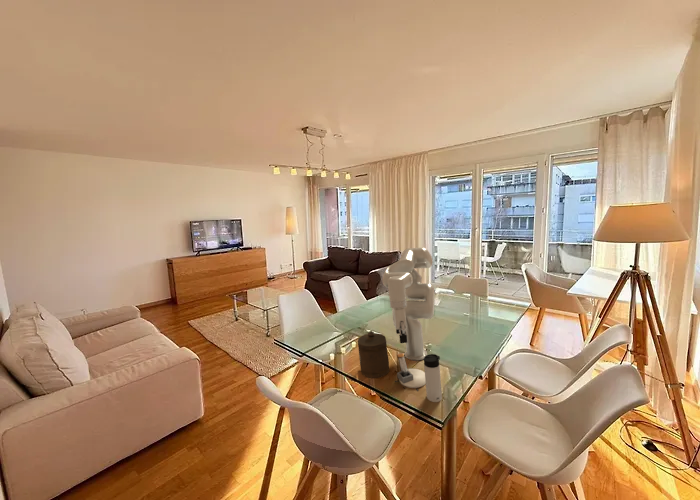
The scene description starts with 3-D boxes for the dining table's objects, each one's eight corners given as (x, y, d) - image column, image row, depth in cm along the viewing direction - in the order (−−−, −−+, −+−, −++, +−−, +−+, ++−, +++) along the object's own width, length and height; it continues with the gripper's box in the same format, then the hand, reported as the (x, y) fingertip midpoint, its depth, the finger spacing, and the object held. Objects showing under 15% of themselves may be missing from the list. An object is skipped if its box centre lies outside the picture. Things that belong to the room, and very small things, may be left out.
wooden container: (371, 361, 157) (367, 324, 154) (395, 368, 147) (391, 329, 144) (355, 375, 146) (350, 335, 143) (379, 384, 136) (374, 341, 133)
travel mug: (442, 406, 117) (439, 361, 114) (426, 403, 119) (422, 359, 116) (443, 396, 122) (440, 353, 120) (427, 394, 125) (424, 352, 122)
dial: (417, 368, 142) (416, 361, 142) (432, 382, 130) (432, 374, 130) (394, 376, 138) (393, 368, 138) (408, 391, 126) (407, 382, 126)
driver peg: (403, 377, 135) (397, 353, 136) (410, 376, 134) (403, 352, 136) (402, 379, 131) (396, 355, 133) (409, 378, 131) (403, 354, 132)
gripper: (387, 298, 139) (391, 330, 141) (393, 310, 122) (396, 347, 124) (402, 296, 139) (405, 329, 141) (410, 308, 121) (413, 345, 124)
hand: (401, 337), depth 133 cm, fingers open, 9 cm apart
